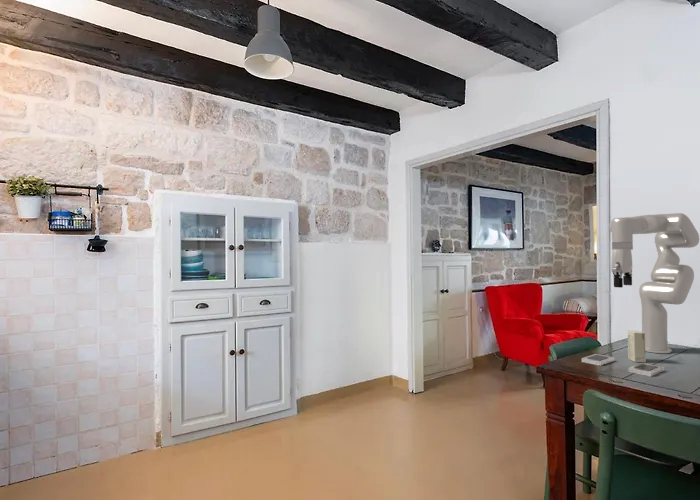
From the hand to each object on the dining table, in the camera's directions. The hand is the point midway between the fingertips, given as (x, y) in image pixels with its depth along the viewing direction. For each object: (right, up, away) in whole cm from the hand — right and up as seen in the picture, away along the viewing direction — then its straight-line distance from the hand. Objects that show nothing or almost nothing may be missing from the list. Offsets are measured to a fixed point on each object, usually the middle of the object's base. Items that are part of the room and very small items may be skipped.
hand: (623, 286), depth 181 cm
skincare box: (+3, -31, -4) cm, 32 cm away
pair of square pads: (-8, -31, -12) cm, 34 cm away
